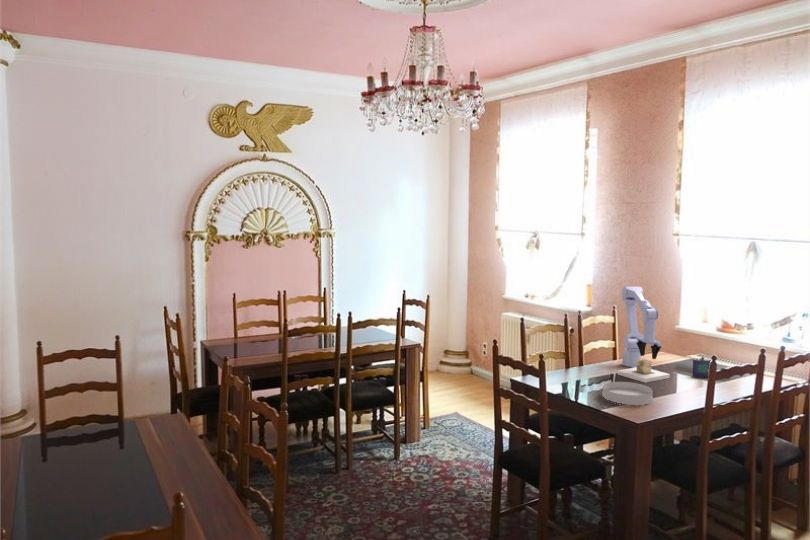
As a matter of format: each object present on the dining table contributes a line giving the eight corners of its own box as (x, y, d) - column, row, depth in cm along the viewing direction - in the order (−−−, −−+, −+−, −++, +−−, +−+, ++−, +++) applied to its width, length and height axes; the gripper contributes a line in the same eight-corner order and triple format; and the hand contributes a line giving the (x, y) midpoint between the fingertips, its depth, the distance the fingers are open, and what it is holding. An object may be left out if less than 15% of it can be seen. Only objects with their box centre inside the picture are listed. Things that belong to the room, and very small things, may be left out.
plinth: (617, 374, 337) (617, 370, 336) (641, 370, 345) (641, 366, 345) (645, 382, 321) (645, 378, 321) (669, 378, 329) (669, 373, 329)
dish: (612, 389, 311) (613, 379, 310) (659, 397, 297) (659, 387, 296) (594, 399, 294) (594, 389, 293) (642, 409, 280) (643, 398, 279)
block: (636, 371, 334) (636, 360, 333) (643, 370, 336) (643, 359, 336) (644, 373, 330) (644, 362, 329) (651, 372, 332) (651, 361, 331)
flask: (709, 375, 334) (710, 355, 332) (712, 377, 331) (713, 357, 329) (691, 375, 334) (692, 355, 333) (693, 377, 331) (694, 356, 330)
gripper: (632, 329, 338) (631, 355, 339) (655, 334, 325) (654, 361, 327) (642, 328, 341) (641, 353, 343) (664, 333, 328) (663, 359, 330)
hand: (648, 357), depth 335 cm, fingers open, 7 cm apart
